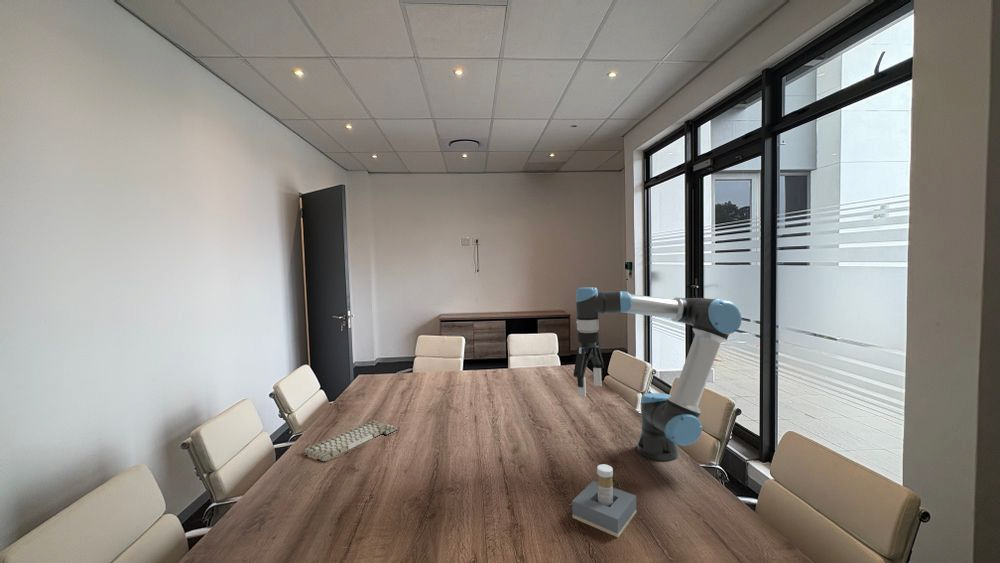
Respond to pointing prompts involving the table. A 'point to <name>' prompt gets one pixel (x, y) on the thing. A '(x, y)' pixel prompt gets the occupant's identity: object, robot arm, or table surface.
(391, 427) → the mechanical keyboard
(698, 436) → the robot arm
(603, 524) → the socket block
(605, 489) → the sprinkles bottle
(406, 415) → the table surface
